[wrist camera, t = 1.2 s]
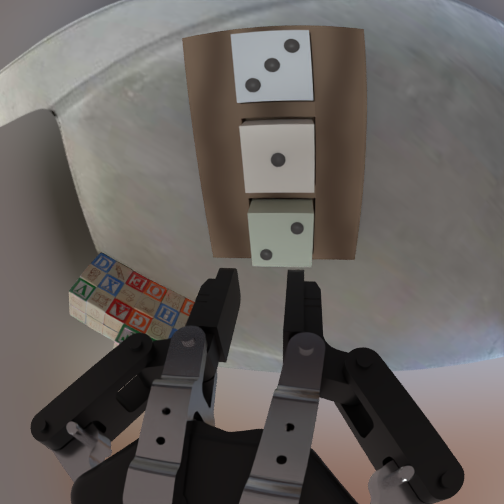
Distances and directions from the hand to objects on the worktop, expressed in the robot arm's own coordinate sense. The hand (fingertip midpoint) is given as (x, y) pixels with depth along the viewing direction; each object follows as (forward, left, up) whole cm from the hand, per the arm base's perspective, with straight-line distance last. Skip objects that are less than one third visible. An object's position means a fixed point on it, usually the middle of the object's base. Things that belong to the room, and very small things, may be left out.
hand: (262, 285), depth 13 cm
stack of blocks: (+20, +20, -19) cm, 34 cm away
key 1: (0, -2, -16) cm, 17 cm away
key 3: (0, -10, -16) cm, 19 cm away
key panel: (0, -2, -19) cm, 19 cm away
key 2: (0, +6, -16) cm, 18 cm away
